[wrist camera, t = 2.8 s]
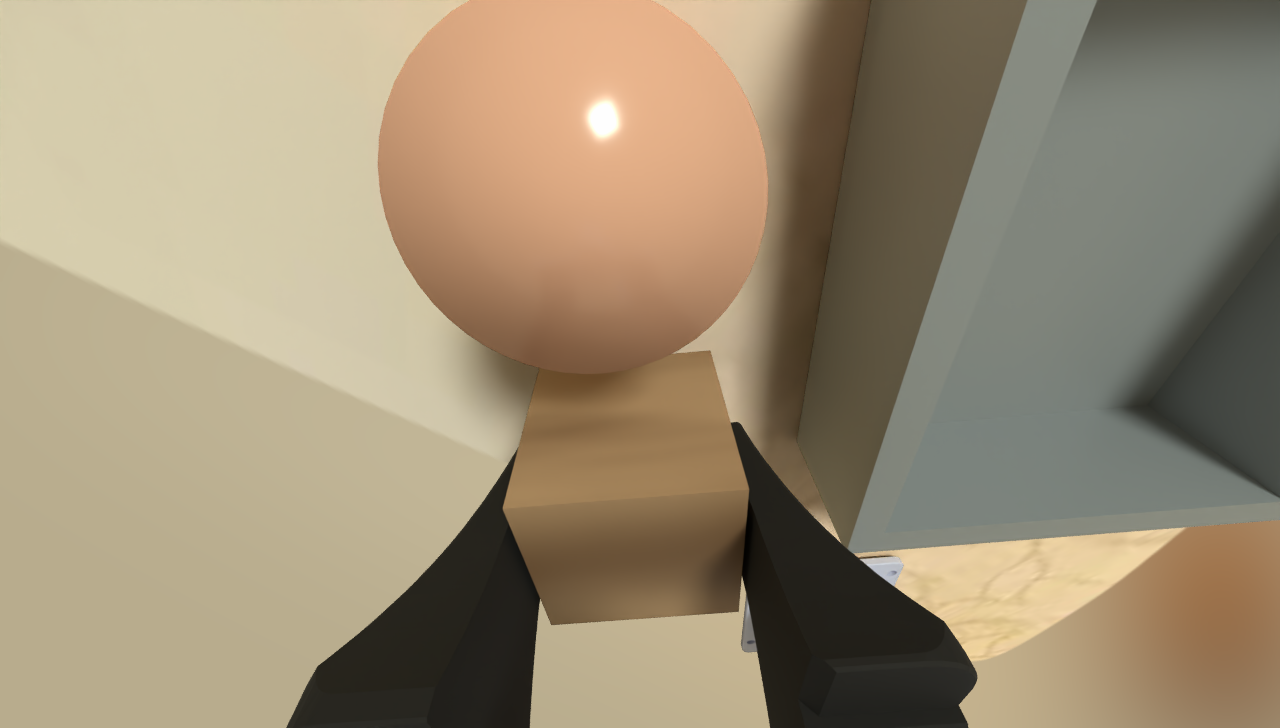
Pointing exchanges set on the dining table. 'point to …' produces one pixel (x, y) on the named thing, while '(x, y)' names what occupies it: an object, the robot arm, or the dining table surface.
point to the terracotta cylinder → (573, 179)
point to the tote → (1052, 274)
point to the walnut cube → (630, 493)
